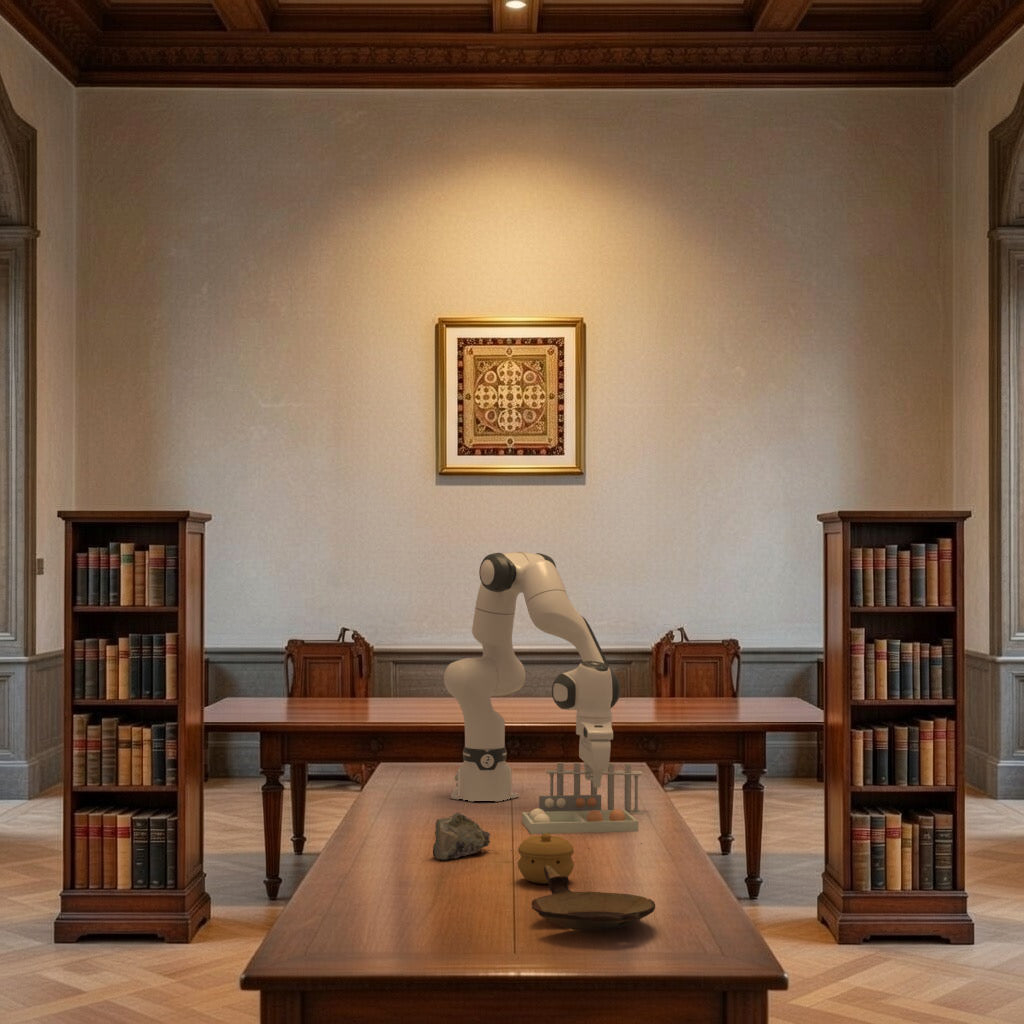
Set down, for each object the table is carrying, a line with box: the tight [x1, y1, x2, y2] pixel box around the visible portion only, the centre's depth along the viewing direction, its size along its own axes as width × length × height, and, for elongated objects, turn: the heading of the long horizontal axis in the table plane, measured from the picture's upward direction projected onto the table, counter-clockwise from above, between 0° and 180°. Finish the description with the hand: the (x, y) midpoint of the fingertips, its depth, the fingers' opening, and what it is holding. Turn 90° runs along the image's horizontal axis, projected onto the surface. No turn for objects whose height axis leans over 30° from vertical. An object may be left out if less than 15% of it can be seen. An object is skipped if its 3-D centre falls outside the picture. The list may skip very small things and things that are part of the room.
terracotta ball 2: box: [609, 808, 625, 821], centre depth 343 cm, size 4×4×4 cm
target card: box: [538, 794, 602, 812], centre depth 354 cm, size 1×16×6 cm, turn 98°
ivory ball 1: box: [530, 807, 545, 822], centre depth 343 cm, size 4×4×4 cm
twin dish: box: [521, 809, 639, 835], centre depth 341 cm, size 15×26×3 cm, turn 98°
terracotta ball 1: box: [587, 810, 603, 822], centre depth 342 cm, size 4×4×4 cm
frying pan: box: [531, 865, 656, 932], centre depth 255 cm, size 22×30×8 cm
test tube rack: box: [545, 761, 643, 815], centre depth 362 cm, size 25×4×13 cm, turn 85°
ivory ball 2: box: [534, 813, 550, 823], centre depth 337 cm, size 4×4×4 cm
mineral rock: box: [432, 811, 491, 861], centre depth 310 cm, size 13×11×10 cm
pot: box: [517, 833, 575, 885], centre depth 287 cm, size 12×12×10 cm
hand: (592, 783), depth 343 cm, fingers open, 8 cm apart
